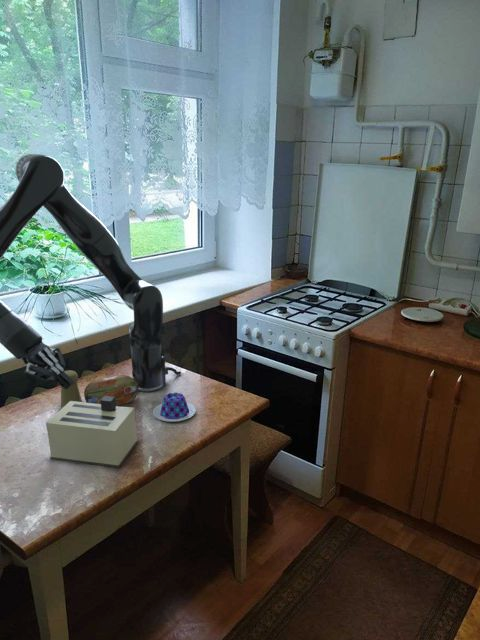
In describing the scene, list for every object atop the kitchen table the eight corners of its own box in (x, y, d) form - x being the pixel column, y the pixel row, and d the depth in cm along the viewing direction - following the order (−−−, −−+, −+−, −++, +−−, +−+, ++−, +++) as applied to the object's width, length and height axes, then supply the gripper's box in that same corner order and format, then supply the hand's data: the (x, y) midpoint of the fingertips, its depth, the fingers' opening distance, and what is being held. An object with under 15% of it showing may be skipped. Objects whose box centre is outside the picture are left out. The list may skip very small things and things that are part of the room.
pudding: (148, 407, 143) (147, 391, 141) (187, 399, 148) (187, 384, 146) (160, 427, 133) (159, 410, 131) (202, 418, 138) (201, 401, 136)
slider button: (105, 405, 123) (104, 395, 121) (115, 406, 122) (114, 396, 121) (101, 410, 120) (100, 400, 119) (111, 411, 120) (110, 401, 119)
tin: (86, 411, 140) (83, 385, 136) (84, 406, 142) (81, 380, 139) (139, 401, 146) (137, 375, 143) (136, 397, 149) (135, 371, 146)
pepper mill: (86, 402, 144) (82, 368, 140) (77, 413, 139) (73, 377, 135) (66, 401, 145) (62, 367, 141) (56, 411, 139) (51, 376, 135)
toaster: (77, 431, 130) (72, 397, 126) (140, 438, 128) (137, 404, 124) (50, 459, 118) (44, 422, 114) (119, 468, 116) (115, 431, 112)
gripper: (6, 334, 110) (65, 389, 113) (40, 316, 122) (92, 366, 125) (-11, 354, 113) (46, 407, 116) (24, 334, 125) (75, 383, 128)
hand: (70, 386), depth 121 cm, fingers closed
